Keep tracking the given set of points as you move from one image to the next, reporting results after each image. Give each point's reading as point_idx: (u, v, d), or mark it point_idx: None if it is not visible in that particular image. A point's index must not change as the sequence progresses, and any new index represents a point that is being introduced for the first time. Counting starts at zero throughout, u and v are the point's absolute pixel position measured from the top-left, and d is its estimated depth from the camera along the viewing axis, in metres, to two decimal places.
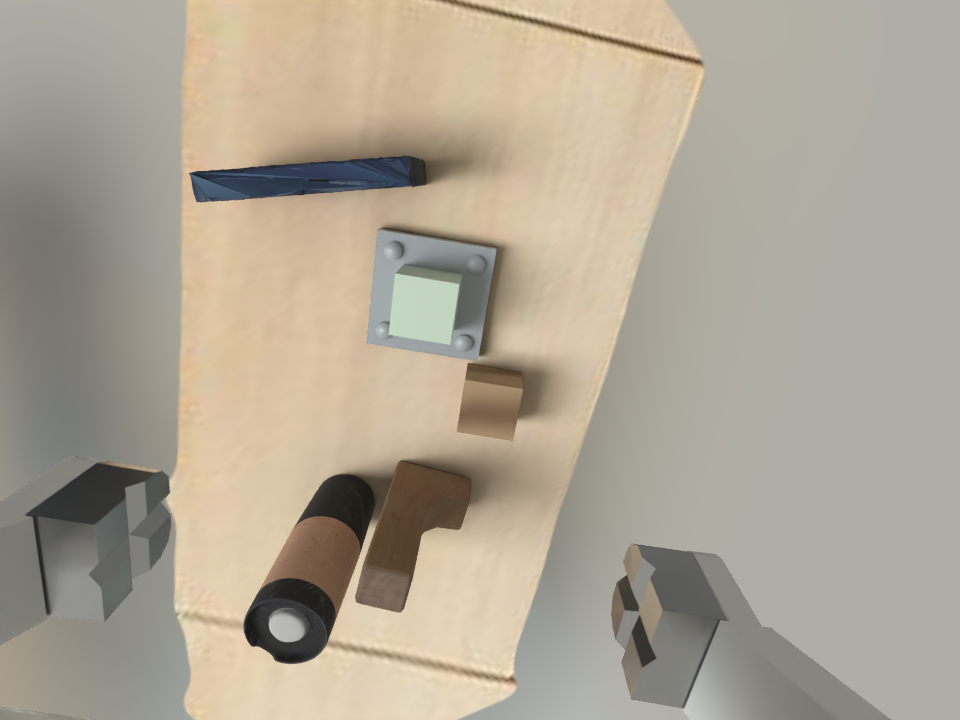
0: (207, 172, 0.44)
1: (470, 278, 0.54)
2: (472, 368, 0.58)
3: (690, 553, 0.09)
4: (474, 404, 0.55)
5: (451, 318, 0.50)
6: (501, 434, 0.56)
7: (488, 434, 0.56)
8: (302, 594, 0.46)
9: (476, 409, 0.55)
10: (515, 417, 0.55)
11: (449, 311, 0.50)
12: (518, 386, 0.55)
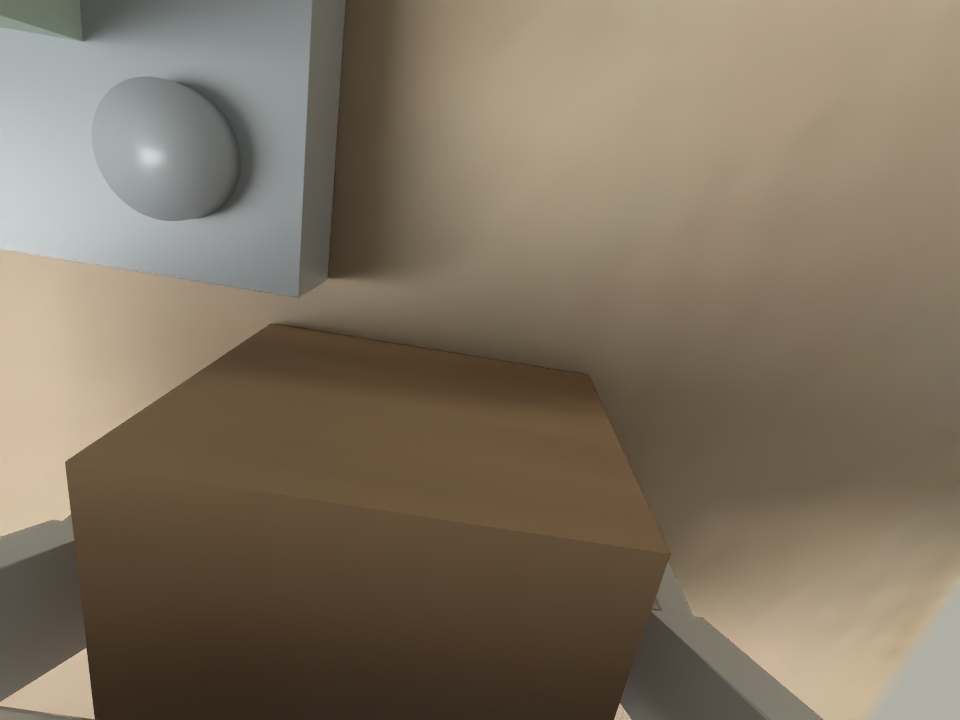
0: None
1: None
2: (275, 353, 0.09)
3: None
4: (204, 676, 0.06)
5: None
6: None
7: None
8: None
9: (235, 714, 0.06)
10: None
11: None
12: (612, 520, 0.06)
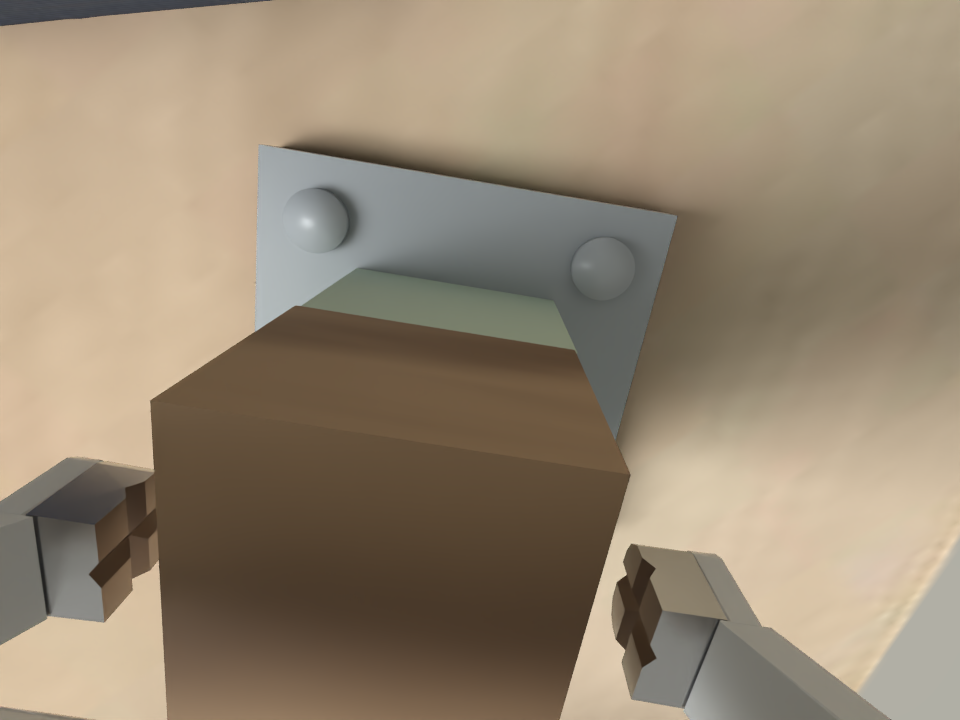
0: None
1: (579, 315, 0.16)
2: (301, 328, 0.10)
3: (689, 553, 0.09)
4: (254, 582, 0.07)
5: None
6: None
7: None
8: None
9: (278, 616, 0.08)
10: (562, 666, 0.08)
11: None
12: (586, 451, 0.07)
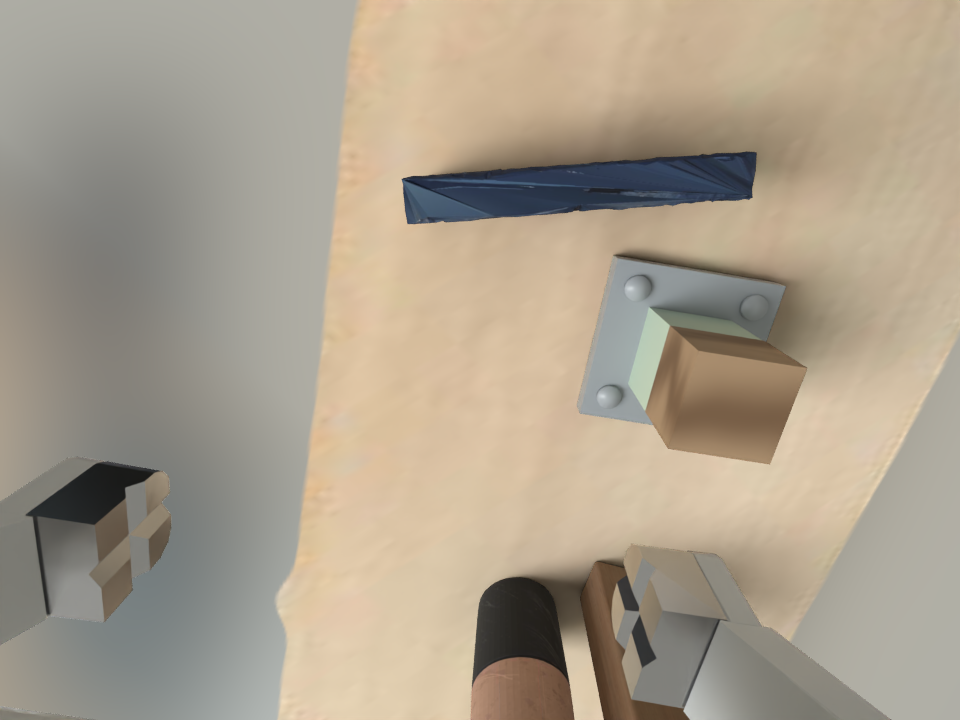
0: (430, 178, 0.28)
1: (741, 326, 0.38)
2: (687, 333, 0.32)
3: (689, 553, 0.09)
4: (708, 398, 0.29)
5: None
6: (750, 453, 0.30)
7: (726, 453, 0.31)
8: None
9: (711, 407, 0.30)
10: (783, 421, 0.30)
11: None
12: (794, 364, 0.29)
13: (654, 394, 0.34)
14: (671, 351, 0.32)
